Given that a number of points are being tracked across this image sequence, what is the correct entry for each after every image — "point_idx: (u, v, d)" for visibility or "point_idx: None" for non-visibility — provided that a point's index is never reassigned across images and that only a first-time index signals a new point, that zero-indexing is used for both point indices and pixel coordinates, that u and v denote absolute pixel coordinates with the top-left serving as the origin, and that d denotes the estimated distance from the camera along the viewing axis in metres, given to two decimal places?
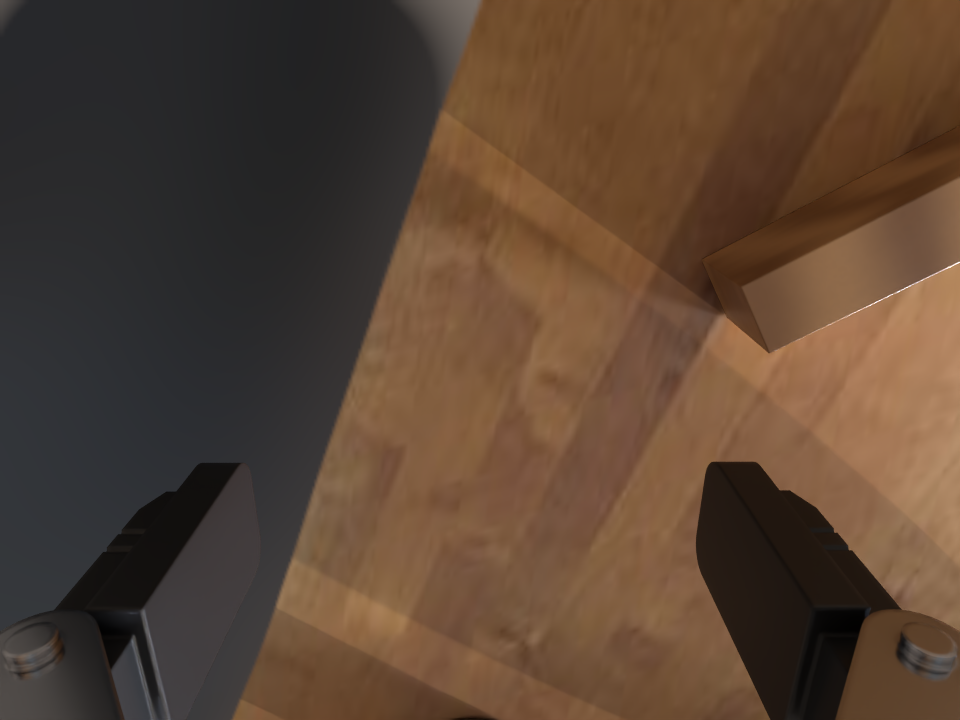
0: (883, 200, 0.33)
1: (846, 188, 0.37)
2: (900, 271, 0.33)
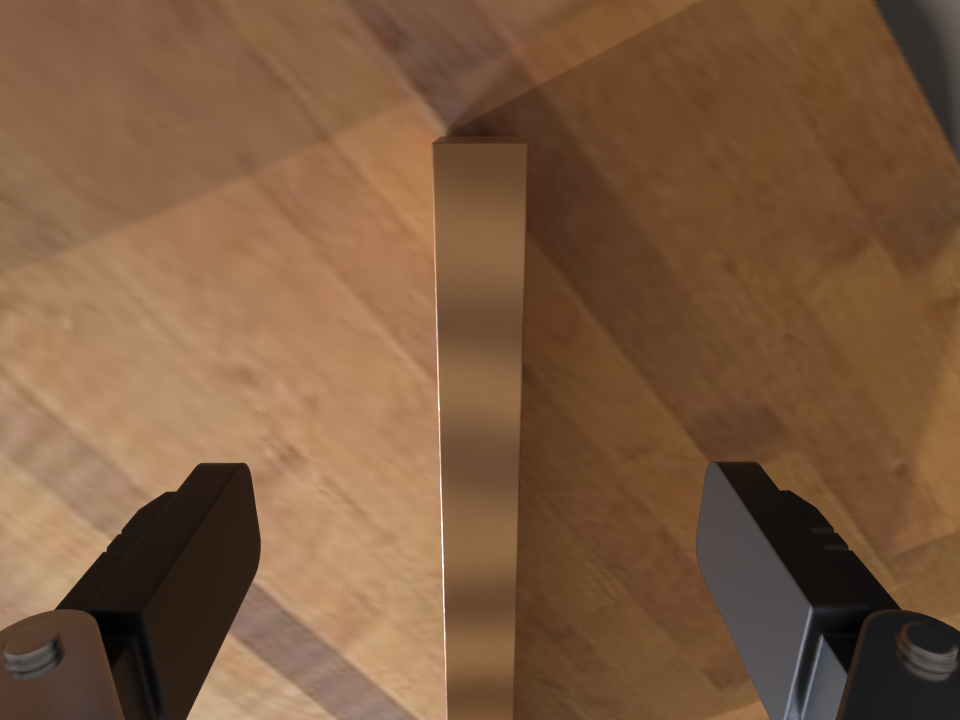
0: None
1: None
2: (457, 304, 0.31)
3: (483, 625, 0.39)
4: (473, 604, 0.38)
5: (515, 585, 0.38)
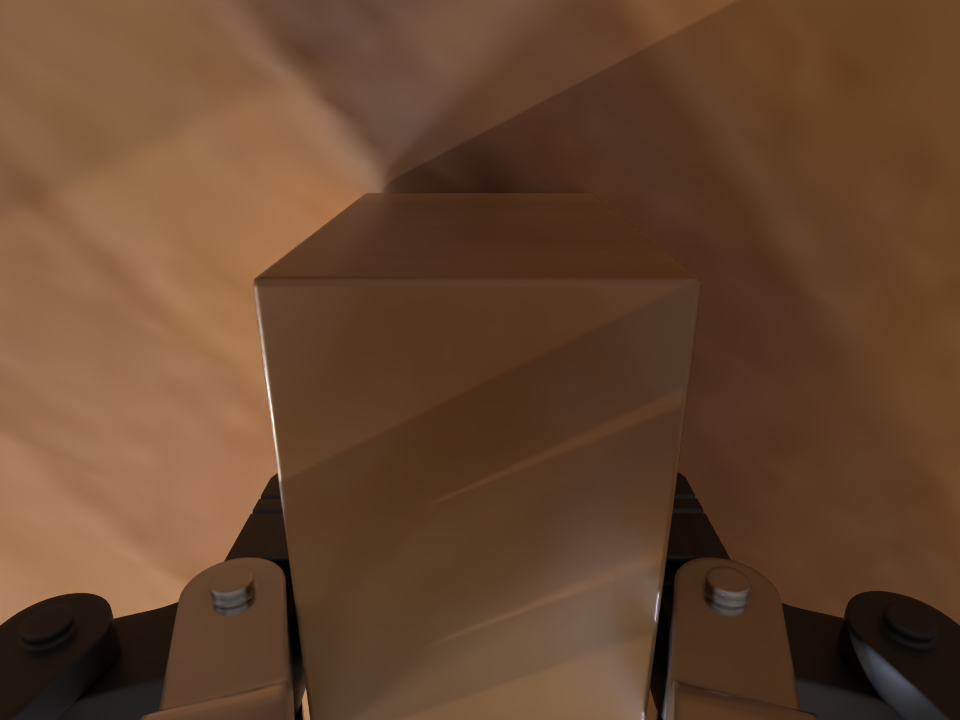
0: None
1: None
2: None
3: None
4: None
5: None
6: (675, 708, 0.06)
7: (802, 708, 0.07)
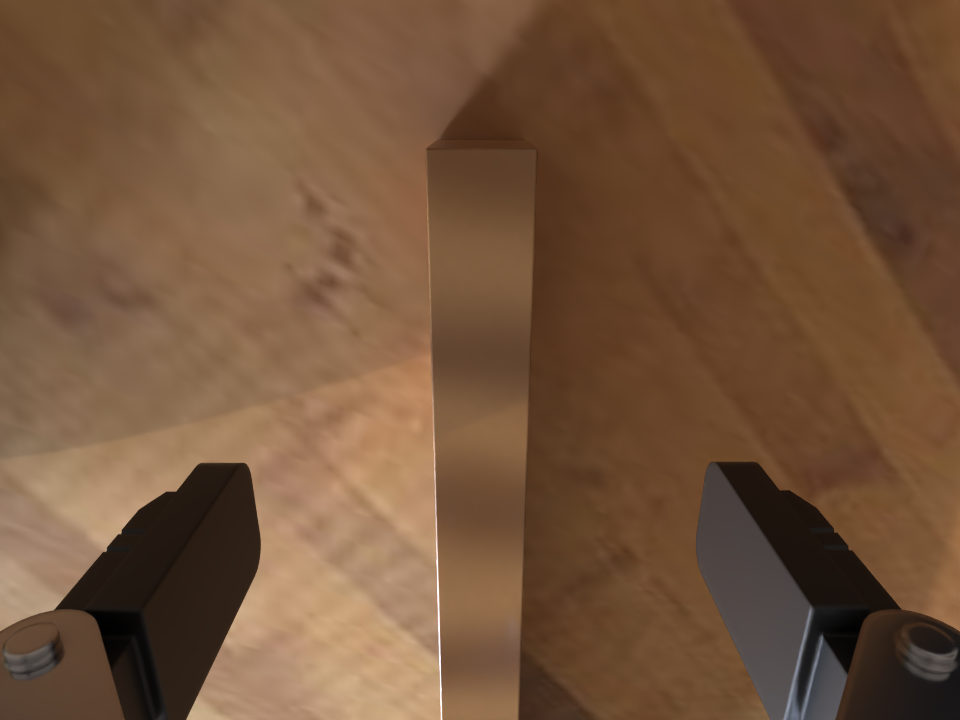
0: None
1: None
2: (455, 332, 0.27)
3: (483, 683, 0.35)
4: (472, 661, 0.34)
5: (519, 641, 0.34)
6: None
7: None
